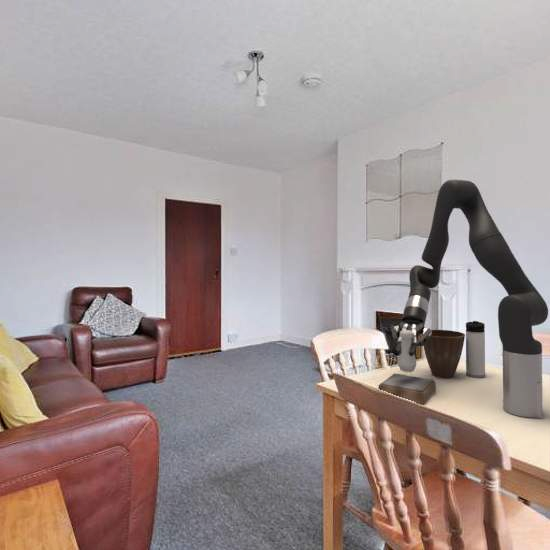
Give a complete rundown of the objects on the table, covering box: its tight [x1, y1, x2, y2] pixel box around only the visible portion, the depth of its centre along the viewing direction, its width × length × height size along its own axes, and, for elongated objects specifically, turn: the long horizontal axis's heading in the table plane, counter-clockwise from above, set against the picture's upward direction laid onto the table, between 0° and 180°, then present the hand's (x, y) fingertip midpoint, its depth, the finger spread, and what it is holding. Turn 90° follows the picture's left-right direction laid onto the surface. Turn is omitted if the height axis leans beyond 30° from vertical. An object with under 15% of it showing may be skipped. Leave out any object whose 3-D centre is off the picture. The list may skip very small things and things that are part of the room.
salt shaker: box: [397, 330, 418, 373], centre depth 120 cm, size 6×6×13 cm
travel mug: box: [465, 320, 486, 379], centre depth 137 cm, size 6×7×20 cm
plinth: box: [378, 372, 437, 406], centre depth 120 cm, size 14×14×4 cm
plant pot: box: [420, 329, 466, 379], centre depth 138 cm, size 15×15×16 cm
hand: (404, 354), depth 118 cm, fingers closed on salt shaker, 3 cm apart
